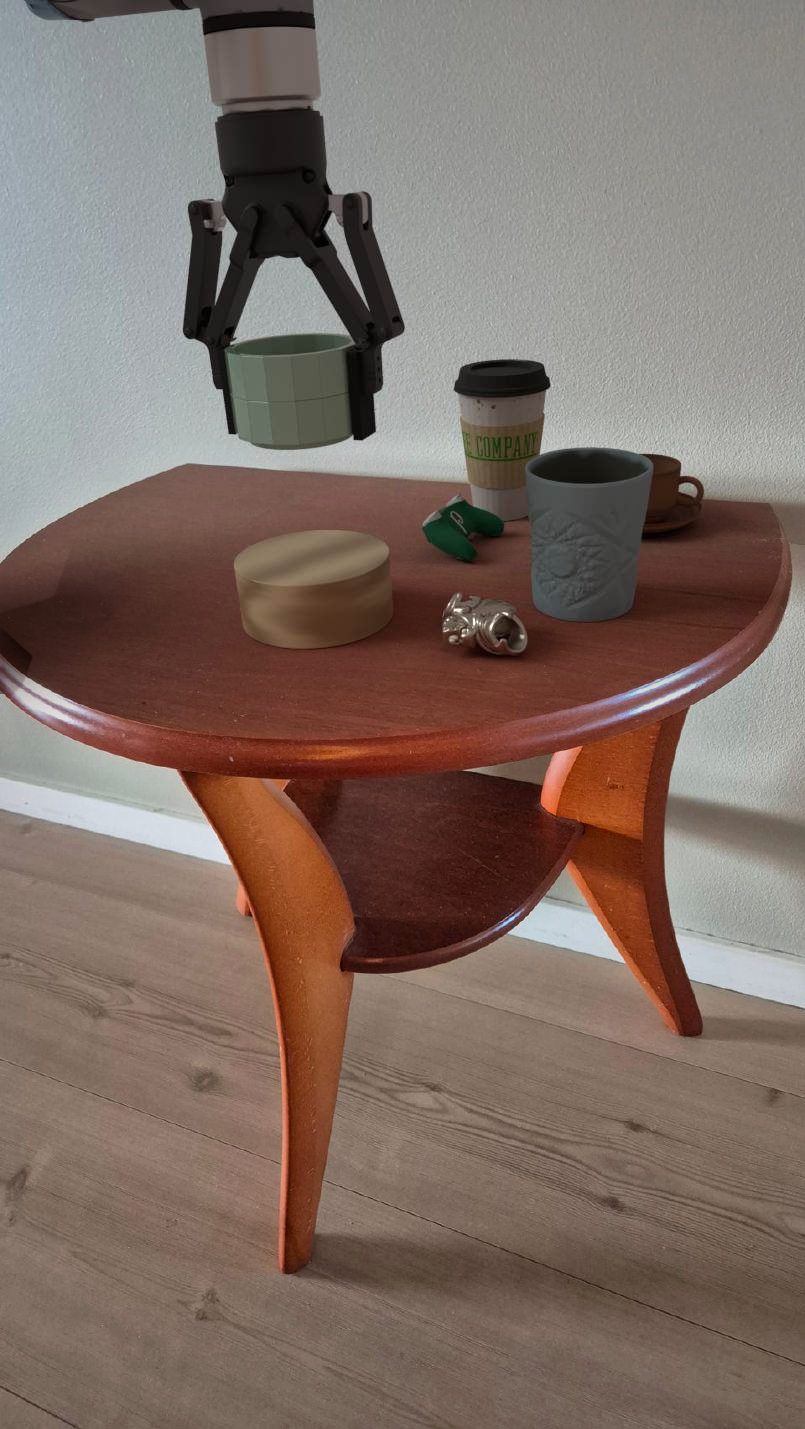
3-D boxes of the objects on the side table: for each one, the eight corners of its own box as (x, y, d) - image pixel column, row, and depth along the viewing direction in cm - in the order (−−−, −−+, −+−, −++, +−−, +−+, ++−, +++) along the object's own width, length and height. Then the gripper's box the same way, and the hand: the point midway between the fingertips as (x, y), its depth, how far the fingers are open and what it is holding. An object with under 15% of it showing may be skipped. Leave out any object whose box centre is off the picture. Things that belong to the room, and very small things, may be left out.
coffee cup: (439, 518, 106) (434, 373, 99) (486, 493, 113) (484, 355, 106) (520, 532, 101) (521, 380, 94) (564, 504, 108) (568, 361, 100)
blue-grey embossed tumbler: (618, 575, 90) (626, 442, 84) (662, 619, 81) (675, 474, 75) (510, 587, 88) (510, 453, 82) (543, 634, 80) (546, 488, 74)
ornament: (413, 641, 80) (411, 599, 78) (480, 618, 83) (479, 577, 81) (476, 676, 74) (475, 632, 72) (544, 649, 77) (545, 606, 75)
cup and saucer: (695, 505, 105) (700, 447, 102) (704, 544, 95) (711, 481, 92) (581, 504, 108) (583, 447, 105) (578, 542, 97) (580, 481, 94)
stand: (215, 615, 86) (205, 556, 84) (337, 576, 93) (332, 519, 90) (294, 664, 77) (287, 599, 75) (424, 616, 84) (421, 555, 81)
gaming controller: (486, 548, 102) (447, 505, 102) (511, 525, 100) (470, 481, 100) (451, 580, 95) (408, 534, 95) (476, 556, 93) (433, 509, 93)
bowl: (214, 438, 80) (201, 347, 77) (318, 415, 85) (310, 329, 82) (281, 461, 73) (270, 362, 70) (390, 434, 78) (385, 340, 75)
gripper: (442, 98, 67) (452, 427, 78) (158, 121, 75) (203, 417, 86) (402, 95, 61) (418, 452, 72) (97, 120, 69) (154, 439, 80)
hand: (301, 433), depth 79 cm, fingers closed on bowl, 10 cm apart
